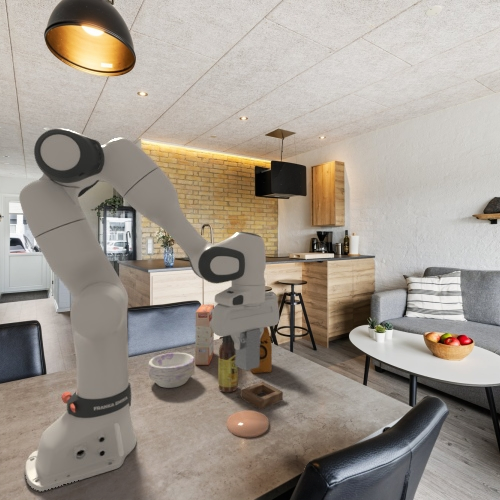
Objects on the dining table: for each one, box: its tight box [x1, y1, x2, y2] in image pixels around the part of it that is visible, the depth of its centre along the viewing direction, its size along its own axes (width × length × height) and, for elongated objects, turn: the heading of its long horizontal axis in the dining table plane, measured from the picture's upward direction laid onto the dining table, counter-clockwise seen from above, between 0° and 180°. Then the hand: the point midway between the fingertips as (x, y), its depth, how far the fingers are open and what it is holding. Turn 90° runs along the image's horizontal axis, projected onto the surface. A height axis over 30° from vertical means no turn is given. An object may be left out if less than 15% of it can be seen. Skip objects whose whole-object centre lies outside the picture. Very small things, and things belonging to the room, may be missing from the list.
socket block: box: [240, 381, 284, 411], centre depth 101 cm, size 9×9×2 cm
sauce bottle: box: [217, 335, 239, 393], centre depth 107 cm, size 6×6×20 cm
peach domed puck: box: [226, 410, 270, 438], centre depth 87 cm, size 11×11×1 cm
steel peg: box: [235, 328, 260, 371], centre depth 87 cm, size 4×4×10 cm
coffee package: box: [249, 327, 273, 374], centre depth 125 cm, size 10×12×22 cm
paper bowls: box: [147, 352, 196, 389], centre depth 112 cm, size 15×15×8 cm
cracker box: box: [194, 304, 215, 366], centre depth 133 cm, size 14×6×21 cm, turn 179°
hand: (247, 346), depth 87 cm, fingers closed on steel peg, 4 cm apart
